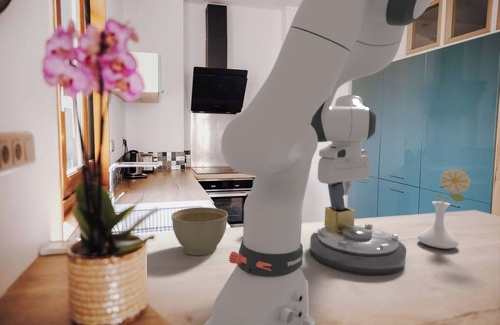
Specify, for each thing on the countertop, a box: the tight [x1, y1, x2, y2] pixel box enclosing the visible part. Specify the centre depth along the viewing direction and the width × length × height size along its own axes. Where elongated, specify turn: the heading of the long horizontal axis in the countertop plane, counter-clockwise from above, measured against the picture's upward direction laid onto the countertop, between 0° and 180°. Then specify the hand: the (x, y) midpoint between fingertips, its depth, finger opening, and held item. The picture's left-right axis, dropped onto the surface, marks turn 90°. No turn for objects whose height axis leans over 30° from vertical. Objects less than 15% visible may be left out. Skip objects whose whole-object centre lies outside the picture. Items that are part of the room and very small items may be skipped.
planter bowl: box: [171, 206, 229, 256], centre depth 97 cm, size 16×16×11 cm
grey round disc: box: [317, 206, 400, 256], centre depth 95 cm, size 22×22×7 cm
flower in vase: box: [417, 168, 472, 250], centre depth 104 cm, size 13×11×25 cm
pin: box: [327, 182, 346, 212], centre depth 101 cm, size 4×4×14 cm
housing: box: [309, 230, 407, 277], centre depth 96 cm, size 26×26×4 cm
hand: (344, 195), depth 103 cm, fingers closed
